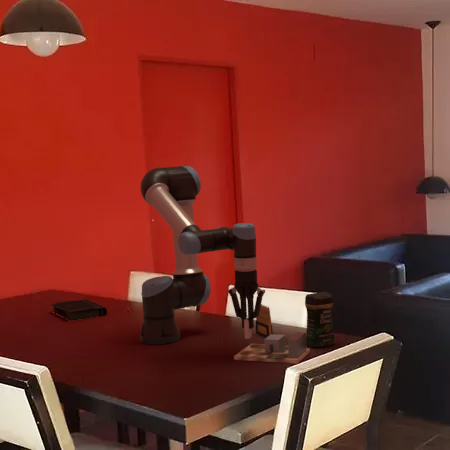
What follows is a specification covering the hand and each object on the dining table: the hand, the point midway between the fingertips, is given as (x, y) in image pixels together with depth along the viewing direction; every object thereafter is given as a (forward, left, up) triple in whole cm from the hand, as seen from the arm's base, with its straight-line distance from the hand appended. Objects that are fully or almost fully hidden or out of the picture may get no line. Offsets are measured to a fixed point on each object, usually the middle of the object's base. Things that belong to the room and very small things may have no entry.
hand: (248, 337), depth 252 cm
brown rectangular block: (+18, 0, -5) cm, 18 cm away
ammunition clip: (-3, +25, -6) cm, 26 cm away
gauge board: (+9, 0, -6) cm, 10 cm away
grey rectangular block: (+10, -2, -4) cm, 11 cm away
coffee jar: (+21, +17, -6) cm, 27 cm away
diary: (-101, +45, -7) cm, 111 cm away
